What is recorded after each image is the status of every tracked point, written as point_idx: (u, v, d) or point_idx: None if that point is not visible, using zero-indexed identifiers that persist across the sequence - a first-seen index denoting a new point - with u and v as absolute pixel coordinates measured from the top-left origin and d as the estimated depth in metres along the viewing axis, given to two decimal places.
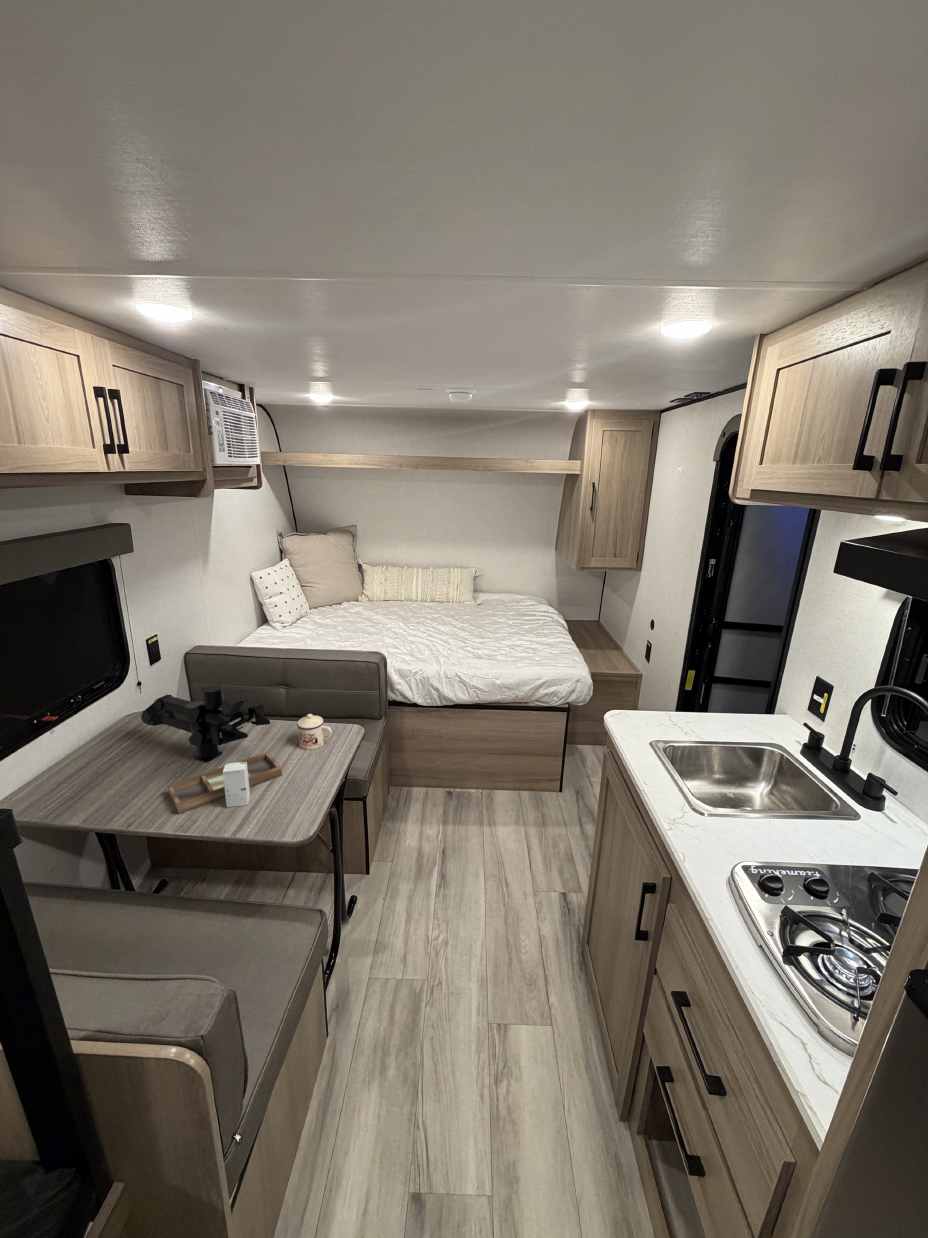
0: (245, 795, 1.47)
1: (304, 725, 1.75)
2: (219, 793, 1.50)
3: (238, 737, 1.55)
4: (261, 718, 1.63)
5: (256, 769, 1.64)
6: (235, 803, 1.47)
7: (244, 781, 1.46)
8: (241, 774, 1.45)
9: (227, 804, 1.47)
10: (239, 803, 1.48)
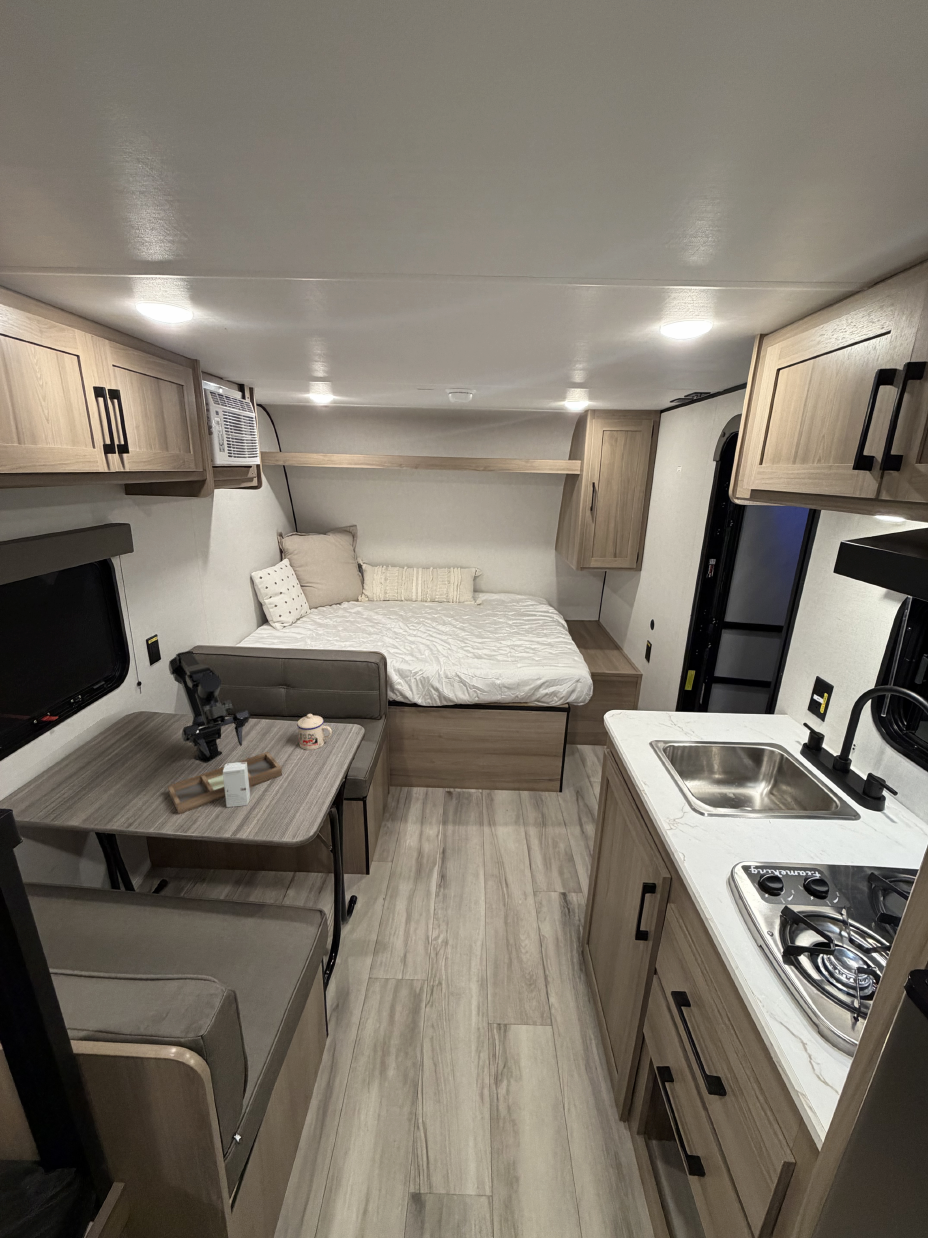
0: (245, 795, 1.47)
1: (304, 725, 1.75)
2: (219, 793, 1.50)
3: (202, 749, 1.49)
4: (238, 734, 1.55)
5: (256, 769, 1.64)
6: (235, 803, 1.47)
7: (244, 781, 1.46)
8: (241, 774, 1.45)
9: (227, 804, 1.47)
10: (239, 803, 1.48)
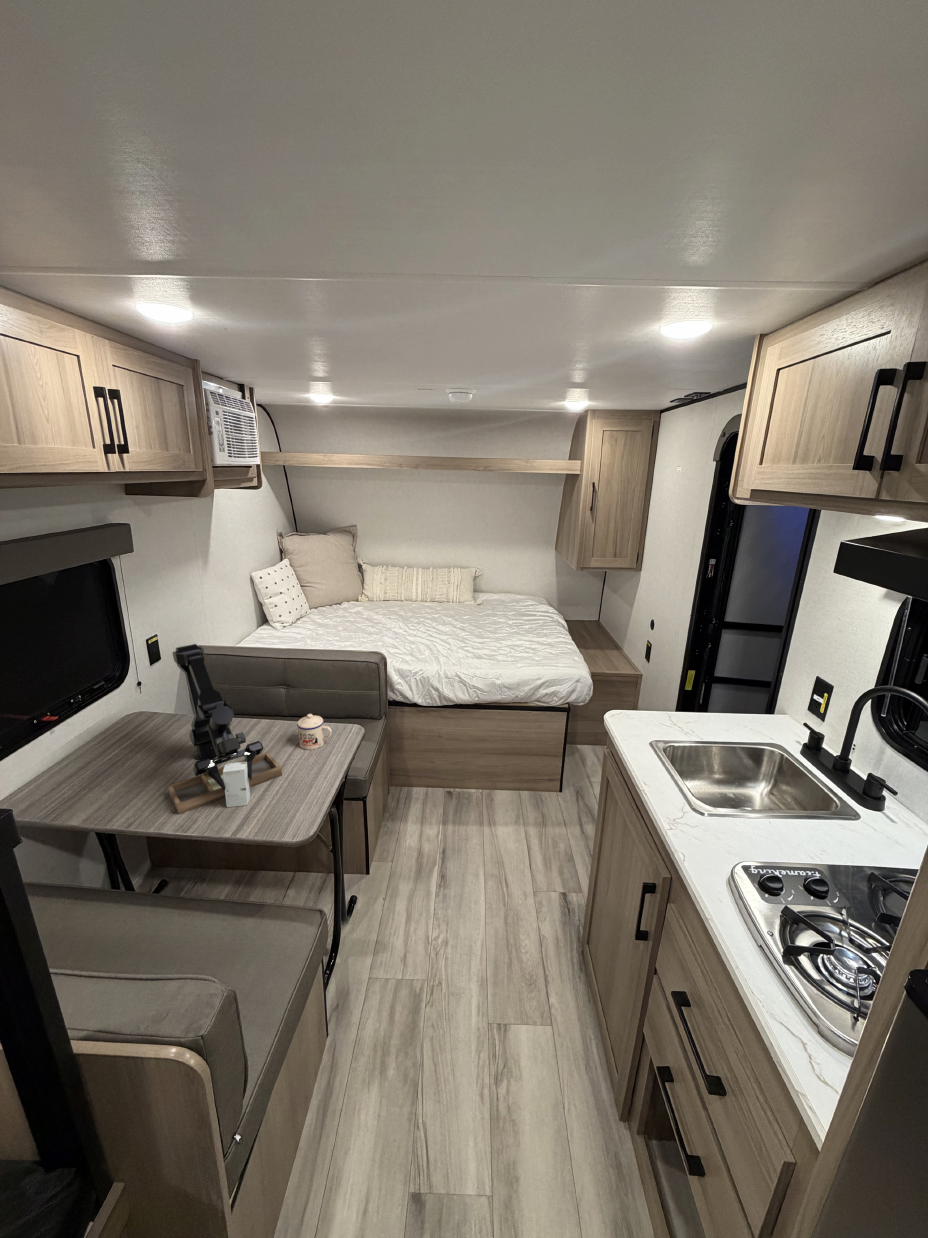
0: (245, 795, 1.47)
1: (304, 725, 1.75)
2: (219, 793, 1.50)
3: (218, 783, 1.45)
4: (247, 768, 1.50)
5: (256, 769, 1.64)
6: (235, 803, 1.47)
7: (244, 781, 1.46)
8: (241, 774, 1.45)
9: (227, 804, 1.47)
10: (239, 803, 1.47)
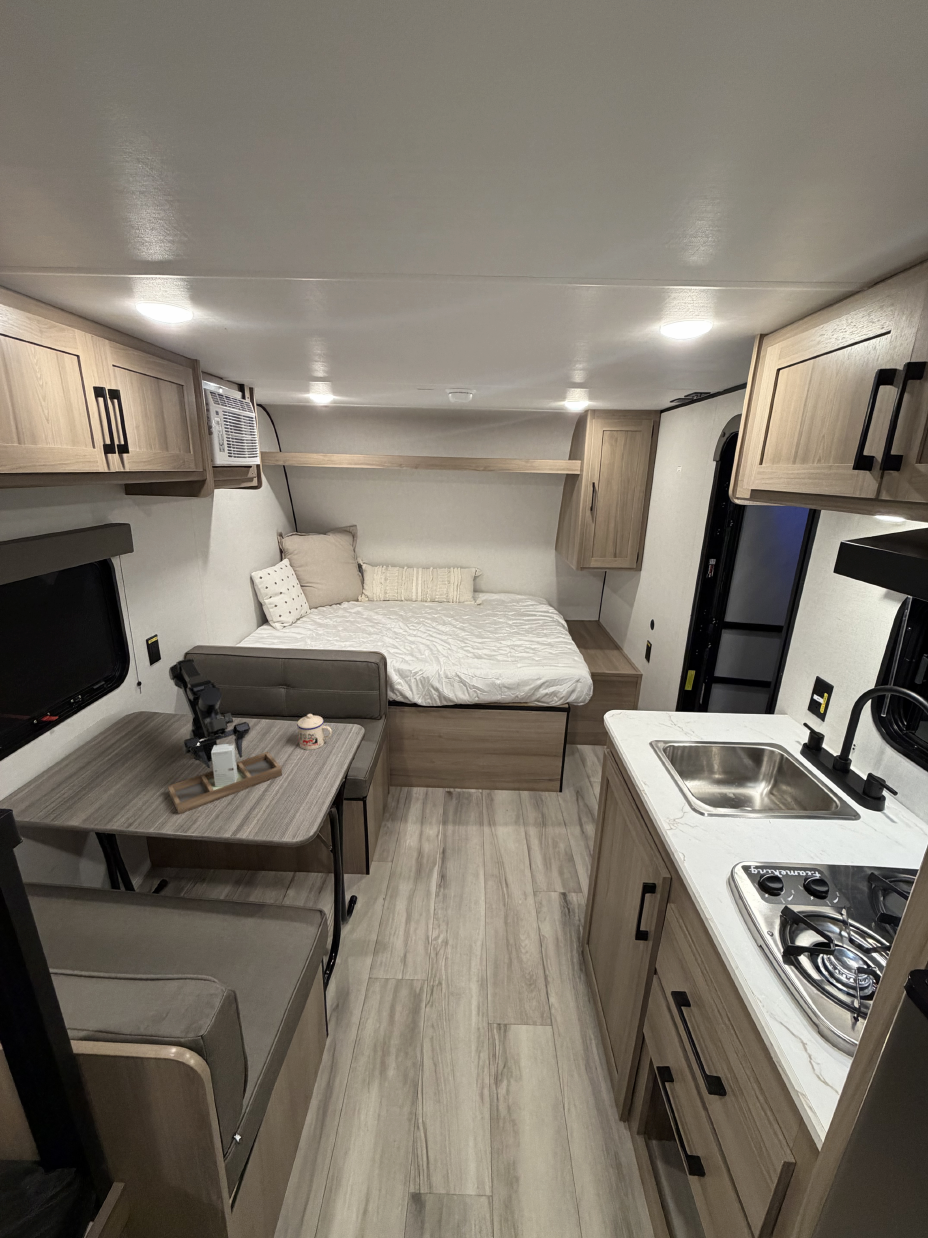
0: (233, 775, 1.55)
1: (304, 725, 1.75)
2: (219, 793, 1.50)
3: (202, 761, 1.52)
4: (238, 746, 1.58)
5: (256, 769, 1.64)
6: (223, 782, 1.55)
7: (232, 761, 1.54)
8: (228, 754, 1.53)
9: (216, 784, 1.55)
10: (227, 783, 1.55)
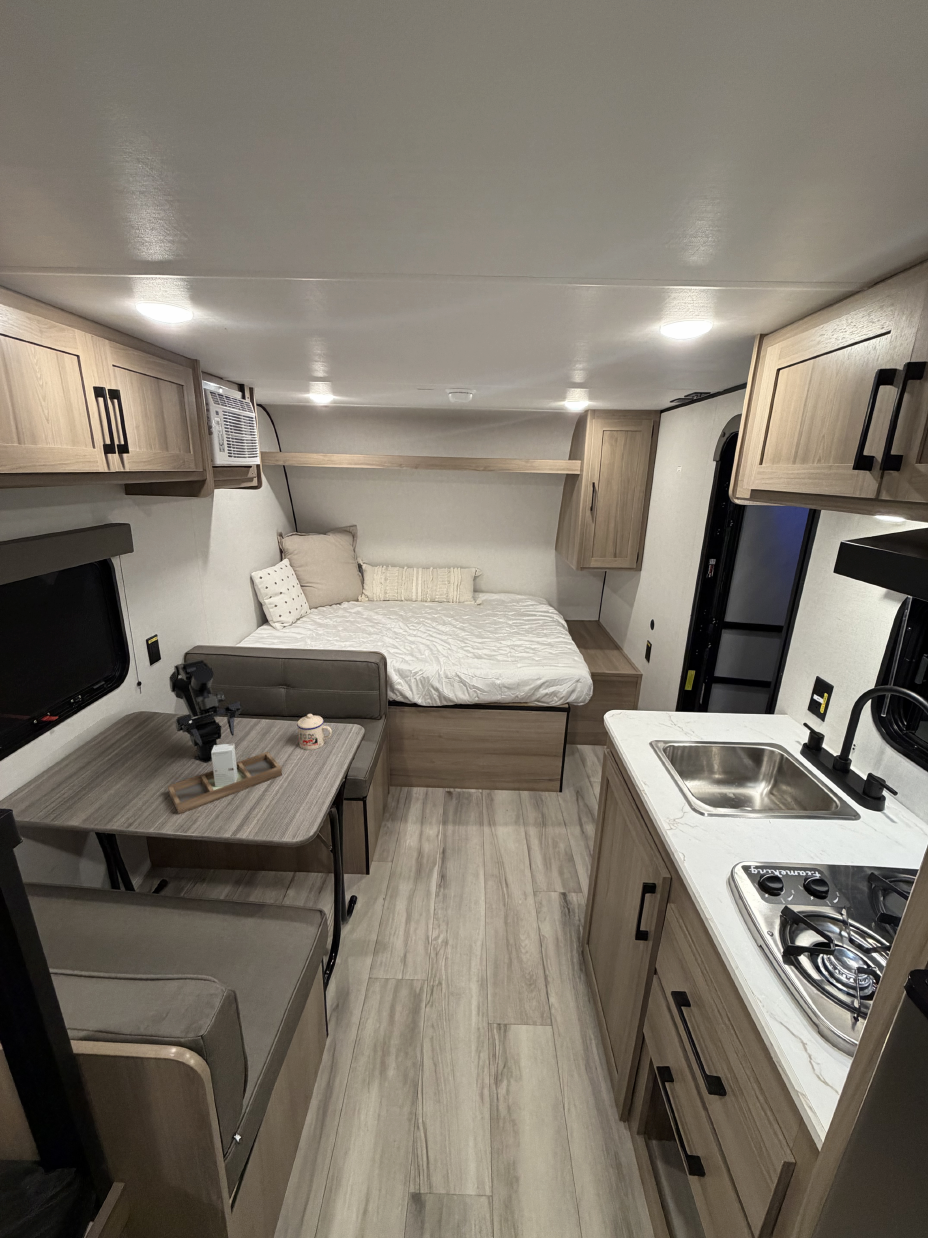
0: (233, 775, 1.55)
1: (304, 725, 1.75)
2: (219, 793, 1.50)
3: (195, 739, 1.55)
4: (230, 724, 1.61)
5: (256, 769, 1.64)
6: (223, 782, 1.55)
7: (232, 761, 1.54)
8: (228, 754, 1.53)
9: (216, 784, 1.55)
10: (227, 782, 1.55)
